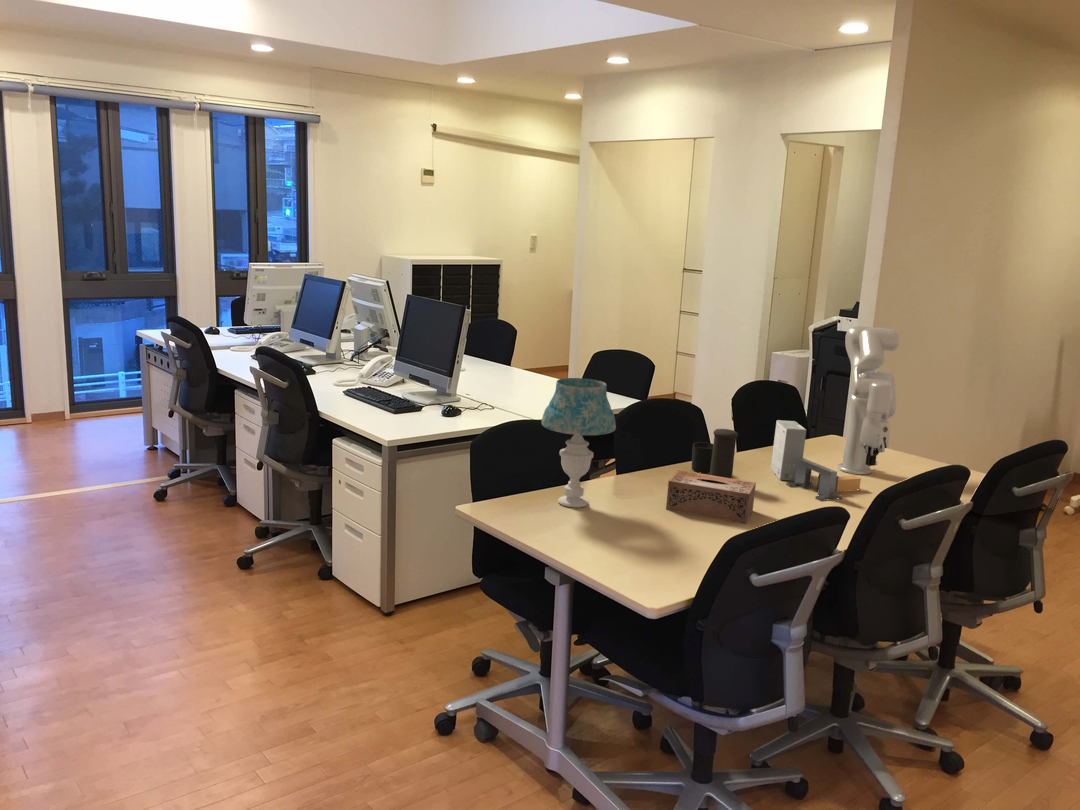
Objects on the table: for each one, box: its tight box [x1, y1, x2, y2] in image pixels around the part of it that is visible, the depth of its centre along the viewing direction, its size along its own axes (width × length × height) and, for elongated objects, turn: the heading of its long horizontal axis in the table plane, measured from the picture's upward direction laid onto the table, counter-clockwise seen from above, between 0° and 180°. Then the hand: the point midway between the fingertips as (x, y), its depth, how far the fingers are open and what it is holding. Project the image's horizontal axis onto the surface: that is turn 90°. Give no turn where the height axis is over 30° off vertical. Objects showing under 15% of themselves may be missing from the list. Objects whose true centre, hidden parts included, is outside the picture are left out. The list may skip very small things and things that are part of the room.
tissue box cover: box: [665, 469, 757, 524], centre depth 279 cm, size 26×14×10 cm, turn 68°
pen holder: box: [691, 441, 714, 474], centre depth 325 cm, size 9×9×10 cm
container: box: [709, 428, 739, 479], centre depth 309 cm, size 9×9×20 cm
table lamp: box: [541, 377, 617, 509], centre depth 274 cm, size 24×24×40 cm
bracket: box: [785, 457, 843, 501], centre depth 307 cm, size 10×18×10 cm, turn 22°
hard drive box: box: [770, 419, 807, 482], centre depth 325 cm, size 16×8×20 cm, turn 179°
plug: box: [816, 473, 862, 493], centre depth 311 cm, size 16×5×6 cm, turn 112°
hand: (870, 465), depth 314 cm, fingers closed
